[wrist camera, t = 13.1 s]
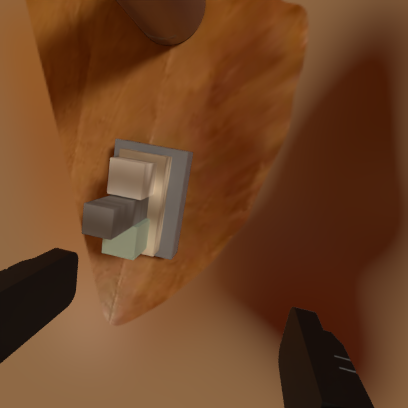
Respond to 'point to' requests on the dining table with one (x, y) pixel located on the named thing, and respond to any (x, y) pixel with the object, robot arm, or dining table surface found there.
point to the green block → (128, 241)
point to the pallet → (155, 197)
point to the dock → (174, 192)
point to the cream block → (131, 177)
